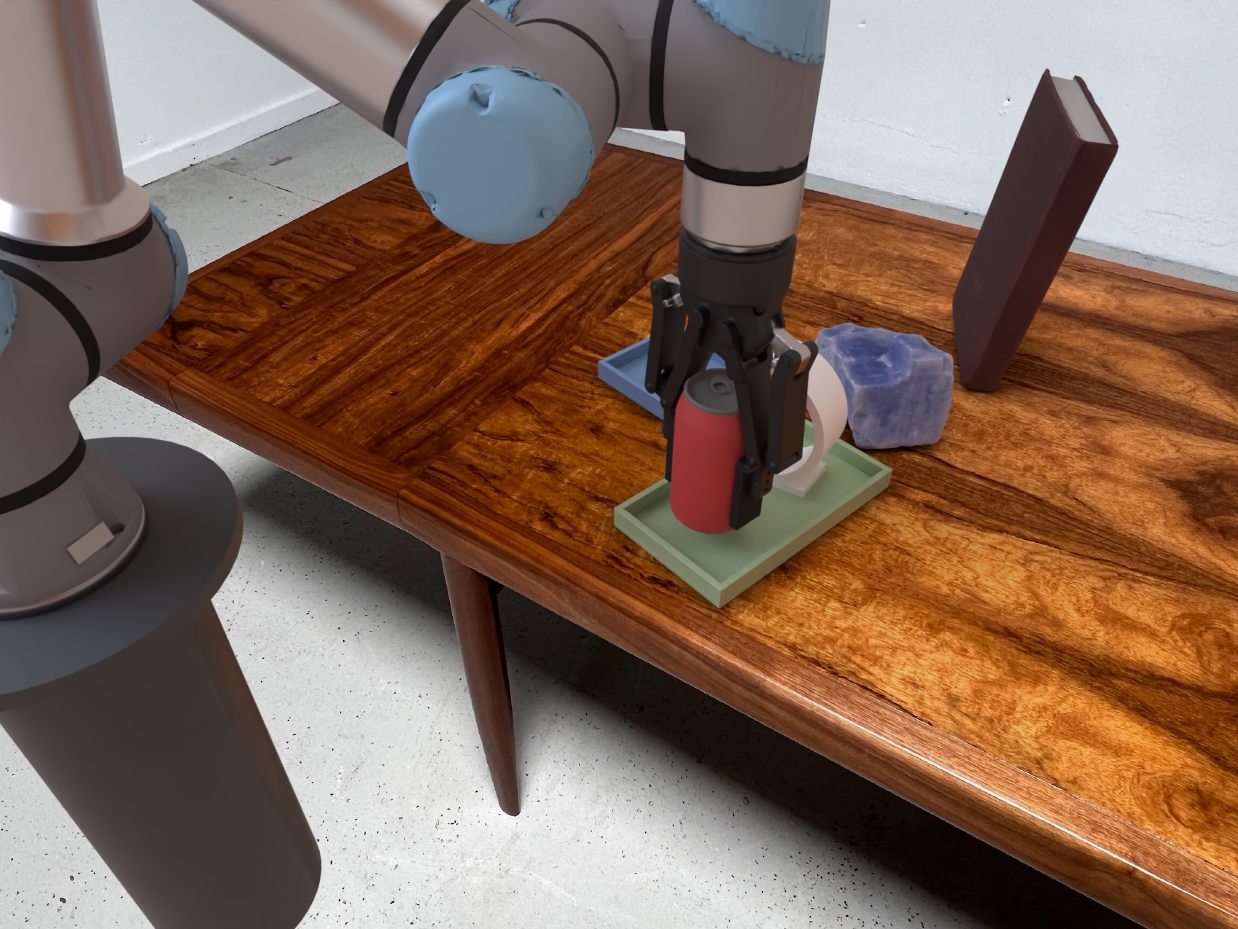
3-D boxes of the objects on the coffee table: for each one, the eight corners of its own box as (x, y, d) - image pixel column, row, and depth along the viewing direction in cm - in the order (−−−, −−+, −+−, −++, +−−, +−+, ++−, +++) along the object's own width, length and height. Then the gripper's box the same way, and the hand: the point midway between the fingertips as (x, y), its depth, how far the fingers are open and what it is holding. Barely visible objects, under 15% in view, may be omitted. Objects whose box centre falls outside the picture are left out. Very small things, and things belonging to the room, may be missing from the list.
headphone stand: (774, 450, 83) (790, 336, 75) (836, 475, 80) (859, 359, 72) (750, 477, 80) (763, 362, 72) (813, 503, 77) (834, 386, 69)
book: (1125, 148, 72) (1070, 138, 72) (999, 396, 90) (955, 387, 90) (1090, 73, 84) (1043, 65, 84) (985, 305, 102) (946, 297, 102)
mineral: (981, 354, 79) (878, 366, 76) (956, 447, 84) (859, 461, 81) (895, 293, 90) (803, 301, 88) (878, 378, 96) (791, 388, 93)
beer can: (738, 479, 76) (753, 359, 69) (761, 533, 71) (779, 411, 64) (661, 487, 76) (668, 367, 68) (679, 543, 71) (688, 420, 63)
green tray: (719, 609, 69) (721, 591, 67) (613, 525, 76) (613, 507, 74) (888, 486, 79) (893, 469, 78) (782, 423, 86) (784, 406, 85)
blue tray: (674, 428, 86) (674, 411, 85) (598, 377, 92) (597, 361, 91) (754, 383, 92) (756, 366, 90) (677, 338, 98) (678, 322, 97)
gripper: (902, 265, 54) (838, 540, 69) (675, 166, 65) (662, 421, 80) (821, 306, 50) (772, 588, 65) (595, 194, 61) (597, 456, 76)
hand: (711, 496), depth 73 cm, fingers closed on beer can, 6 cm apart
